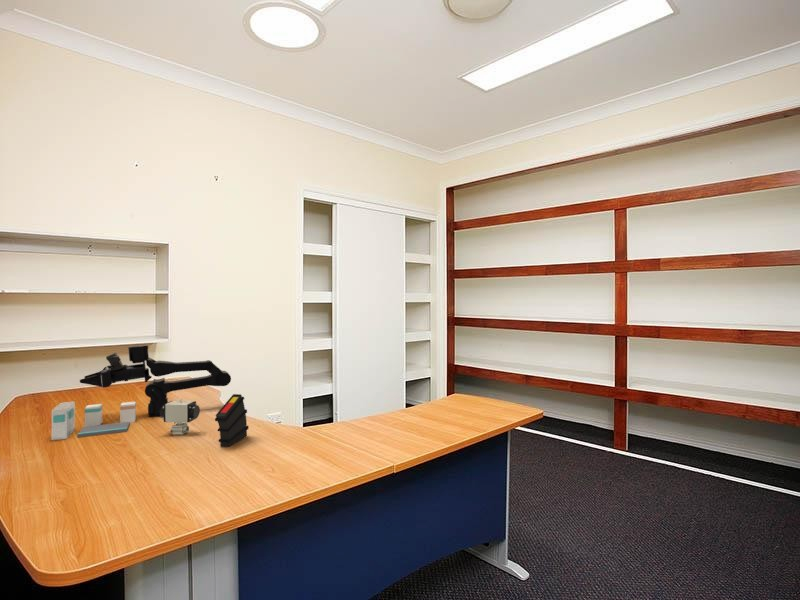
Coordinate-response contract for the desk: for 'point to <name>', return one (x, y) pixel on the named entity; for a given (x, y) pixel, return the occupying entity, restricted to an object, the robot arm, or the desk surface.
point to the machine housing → (63, 420)
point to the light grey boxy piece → (128, 412)
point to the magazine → (232, 421)
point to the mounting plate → (104, 429)
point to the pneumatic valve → (180, 415)
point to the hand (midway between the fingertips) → (82, 379)
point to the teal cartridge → (93, 415)
